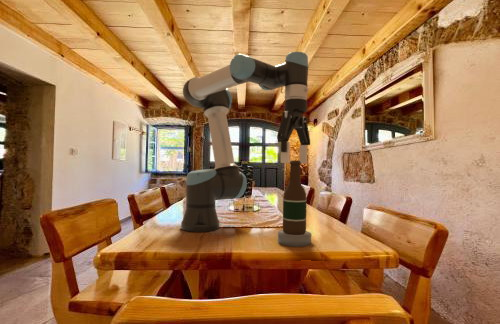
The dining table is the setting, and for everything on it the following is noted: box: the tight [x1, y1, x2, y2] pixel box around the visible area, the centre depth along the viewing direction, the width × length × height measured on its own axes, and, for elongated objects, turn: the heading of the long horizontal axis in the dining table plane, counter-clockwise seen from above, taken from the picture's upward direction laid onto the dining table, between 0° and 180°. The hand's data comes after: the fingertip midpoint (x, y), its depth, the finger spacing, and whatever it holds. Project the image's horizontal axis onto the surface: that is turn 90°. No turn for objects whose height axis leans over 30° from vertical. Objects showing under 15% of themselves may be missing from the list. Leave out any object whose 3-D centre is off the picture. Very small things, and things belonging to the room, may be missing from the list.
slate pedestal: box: [277, 229, 312, 248], centre depth 91 cm, size 11×11×3 cm
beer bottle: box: [282, 160, 307, 235], centre depth 91 cm, size 8×8×24 cm
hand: (294, 163), depth 92 cm, fingers open, 13 cm apart
